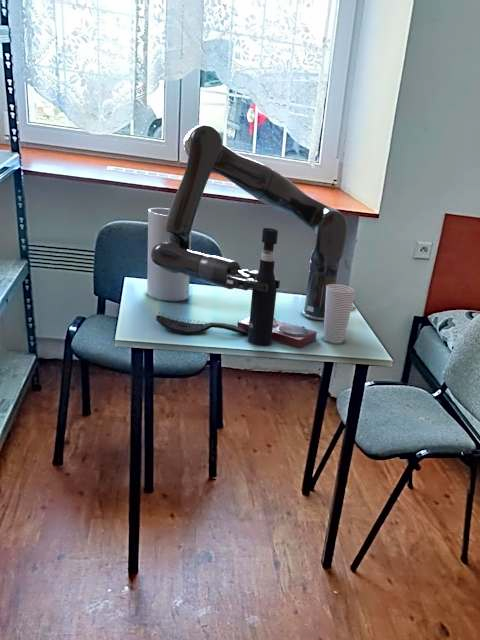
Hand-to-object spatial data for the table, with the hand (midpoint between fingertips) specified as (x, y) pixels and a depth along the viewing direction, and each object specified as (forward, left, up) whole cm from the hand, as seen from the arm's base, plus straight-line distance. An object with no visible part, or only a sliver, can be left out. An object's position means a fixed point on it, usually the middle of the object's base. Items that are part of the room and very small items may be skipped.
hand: (273, 286), depth 174 cm
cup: (-19, +12, -16) cm, 27 cm away
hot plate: (-10, -2, -16) cm, 19 cm away
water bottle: (0, -2, -16) cm, 16 cm away
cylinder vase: (-15, -44, -16) cm, 50 cm away
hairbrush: (+5, -18, -16) cm, 25 cm away
